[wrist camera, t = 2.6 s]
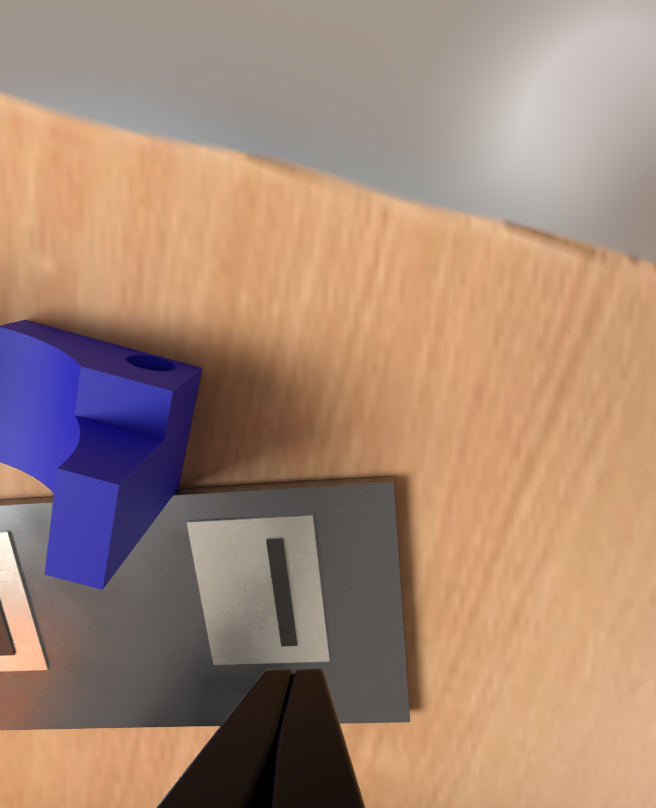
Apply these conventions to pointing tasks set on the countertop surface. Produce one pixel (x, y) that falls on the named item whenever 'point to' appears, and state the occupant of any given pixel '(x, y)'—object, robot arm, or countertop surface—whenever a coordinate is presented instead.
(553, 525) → the countertop surface
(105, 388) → the blue cradle bracket
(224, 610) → the plate
